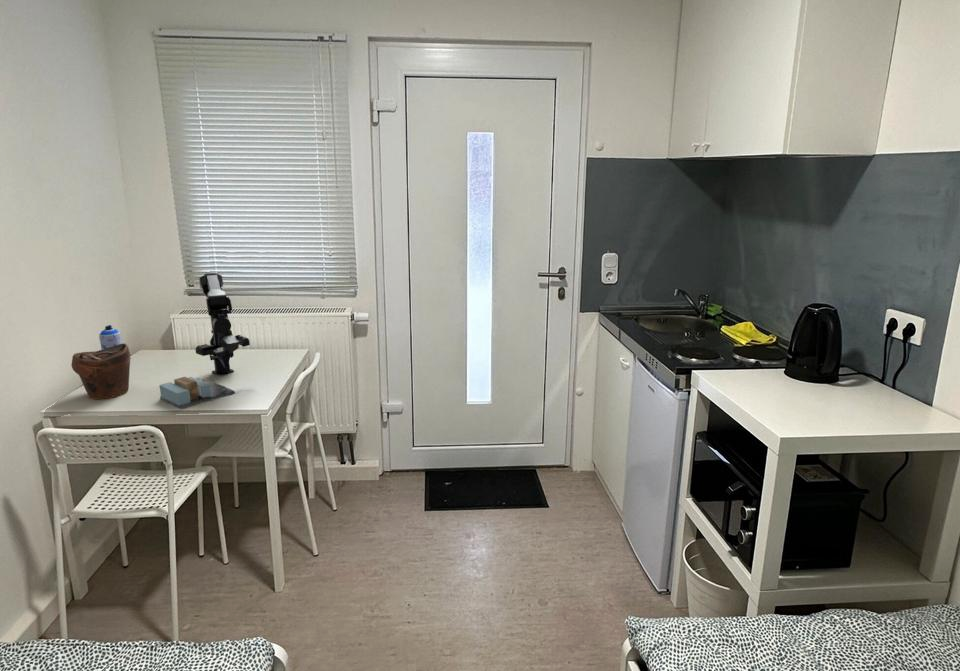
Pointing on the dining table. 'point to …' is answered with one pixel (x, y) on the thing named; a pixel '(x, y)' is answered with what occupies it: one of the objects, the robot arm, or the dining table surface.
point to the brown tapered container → (104, 371)
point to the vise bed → (216, 392)
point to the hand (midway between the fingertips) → (225, 367)
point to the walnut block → (188, 386)
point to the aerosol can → (109, 337)
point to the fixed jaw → (175, 393)
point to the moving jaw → (202, 388)
